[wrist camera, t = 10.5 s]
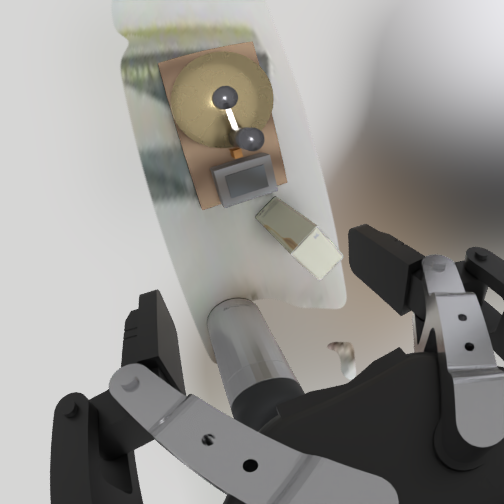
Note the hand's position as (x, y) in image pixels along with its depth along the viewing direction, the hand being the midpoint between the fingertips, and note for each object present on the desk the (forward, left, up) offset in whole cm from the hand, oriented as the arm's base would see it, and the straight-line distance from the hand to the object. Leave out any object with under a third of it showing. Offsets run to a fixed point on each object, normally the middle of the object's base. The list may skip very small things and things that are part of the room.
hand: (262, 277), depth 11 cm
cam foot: (+9, -3, -26) cm, 28 cm away
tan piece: (+6, -4, -28) cm, 29 cm away
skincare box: (-8, -12, -28) cm, 32 cm away
